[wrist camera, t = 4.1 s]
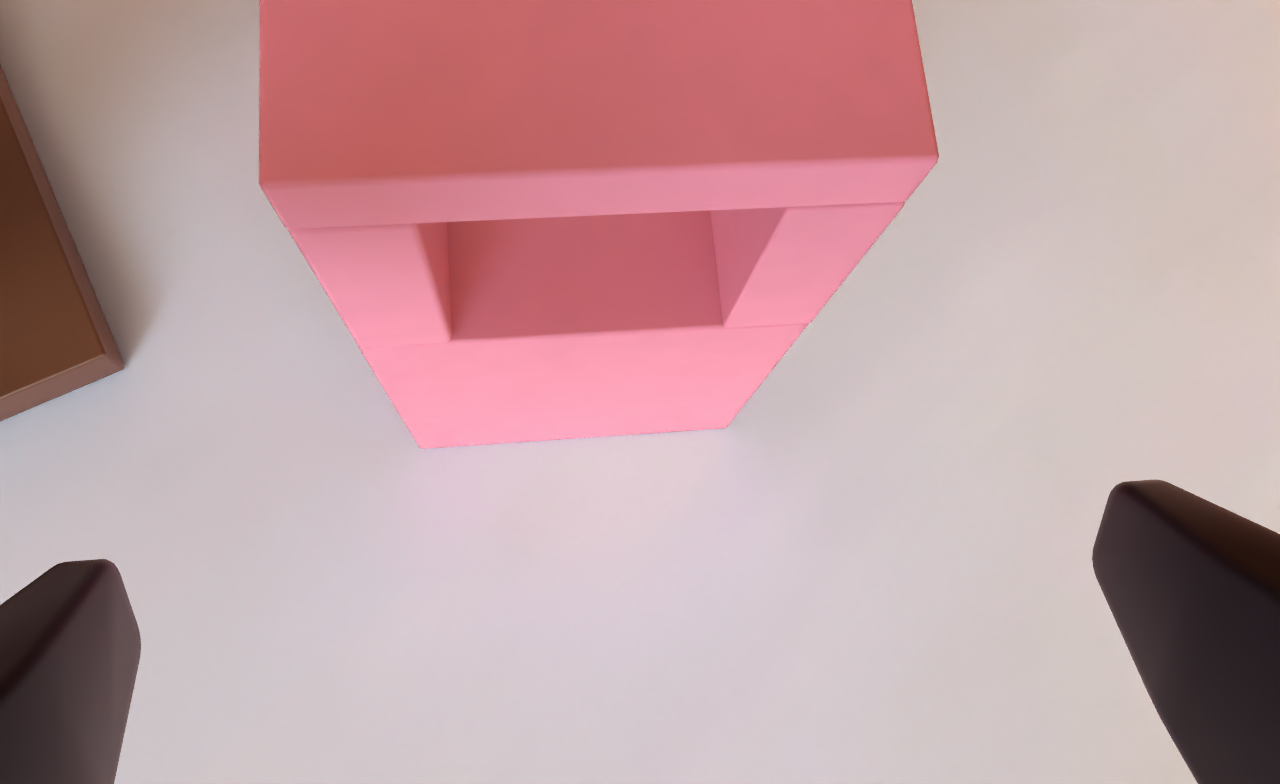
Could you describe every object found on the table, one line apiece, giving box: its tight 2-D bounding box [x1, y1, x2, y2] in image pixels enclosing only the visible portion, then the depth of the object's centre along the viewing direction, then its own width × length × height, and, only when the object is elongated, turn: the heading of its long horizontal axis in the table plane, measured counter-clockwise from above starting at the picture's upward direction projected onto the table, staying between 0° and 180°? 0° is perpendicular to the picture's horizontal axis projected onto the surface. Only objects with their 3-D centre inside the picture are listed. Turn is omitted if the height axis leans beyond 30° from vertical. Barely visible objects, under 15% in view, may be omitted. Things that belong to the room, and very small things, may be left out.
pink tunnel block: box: [259, 0, 939, 449], centre depth 15 cm, size 2×6×12 cm, turn 95°
